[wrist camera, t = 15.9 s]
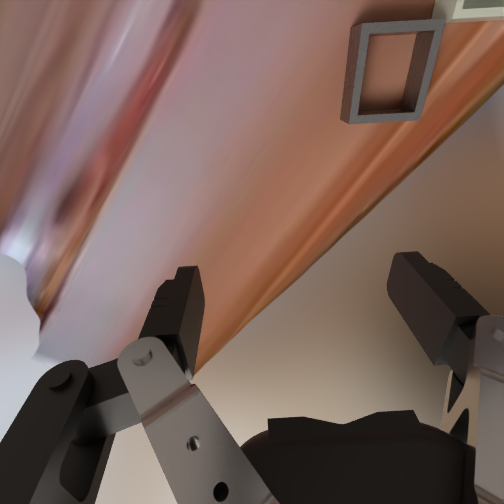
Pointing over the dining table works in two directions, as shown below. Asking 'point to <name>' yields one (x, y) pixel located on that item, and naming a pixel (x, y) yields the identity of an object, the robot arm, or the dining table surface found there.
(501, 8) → the tray
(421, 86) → the sleeve
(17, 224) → the dining table surface
